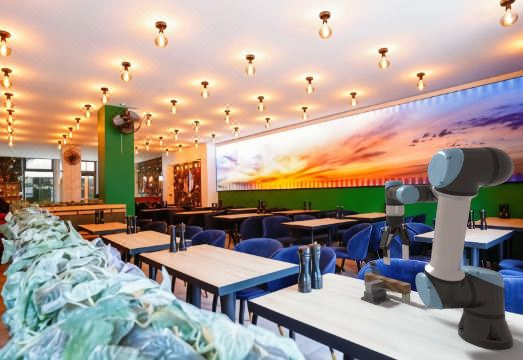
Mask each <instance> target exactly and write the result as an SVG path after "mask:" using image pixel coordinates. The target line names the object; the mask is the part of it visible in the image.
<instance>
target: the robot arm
mask: <svg viewBox="0 0 523 360" xmlns="http://www.w3.org/2000/svg"><path fill="white" fill-rule="evenodd" d="M514 170H515V165H514V161H513V158H512V157H511V155H510V154H509V153H507V152H506V151H504V150H503V149H500V148H497V147H493V146H484V147H483V146H481V147H479V146H478V147H475V146H472V147H471V146H470V147H455V146H454V147H449V148H442V149H439V150H438V151H436V152H435V153H434V154H433V155H432V157H431V158H430V161H429V163H428V166H427V176H428V182H429V183H430V184H404V181H403V180H386V181H385V186H384V191H385V213H386V218H385V219H386V220H385V222H386V223H387V224H388V226H383V232H382V236H381V239H380V243H379V249H381V250H382V257H383V264H385V265H387V266H390V265H391V250H390V249H389V248H390V247H391V244H392V242H393V240H394V238H396V237H397V236H398V237H399V239H400V241H401V242H402V245H401V246H402V247H401V248H402V249H401V250H402V251H401V253H402V260H406V261H409V260H410V250H409V249H410V248H409V247H410V246H412V243H413V241H412V239H411V236H410V233H409V230H408V225H407V224H406V223H405V216H404V214H405V205H407V204H408V205H409V204H410V205H412V204H417V203H418V204H419V203H437V207H436V216H435V222H434V223H435V225H434V232H433V240H432V248H431V257H430V261H428V262H426V264H424V271H423V272H422V271H421V272H418V273H417V274H416V276H415V286H416V287H415V288H416V291H417V293H418V294H417V295H418V297H419V299H420V300H421V302H422V303H423V304H424V306H425V307H427V309H428V308H429V309H430V310H440V311H442V310H453V309H454V310H457V309H458V310H459V309H460V310H461V309H462V314H461V316H460V319H459V321H458V325H457V333H458V334H457V335H458V336H459V337H460V338H461V339H463V340H464V341H466V342H467V343H469V344H472V345H474V346H478V347H482V348H486V349H491V350H506V349H510V348H512V347H513V346H514V336H513V334H512V332H511V329H510V327H509V324H508V322H507V320H506V306H505V305H506V304H505V299H506V298H505V288H506V286H505V282H504V277H503V275H502V274H501V273H499V272H498V271H495V270H492V269H489V268H485V267H480V266H473V265H462V260H463V255H464V249H465V248H464V246H465V241H466V235H467V228H468V227H467V226H468V221H469V216H470V215H469V214H470V209H471V202H472V199H473V198H475V197H477V196H479V195H478V194H479V190H480V188H481V187H482V188H491V187H495V186H498V185H500V184H503V183H505V182H507V181H508V180H510V178H511V177H512V175H513V173H514Z"/></svg>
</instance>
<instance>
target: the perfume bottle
mask: <svg viewBox="0 0 523 360" xmlns="http://www.w3.org/2000/svg"><path fill="white" fill-rule="evenodd" d="M367 273H372V274H376V275H380V276H383V274H382V272H381V271H380V269H378V268H377V262H376V261H369V265H368V268H366V270H365V271H364V273H363V275H364V274H367Z"/></svg>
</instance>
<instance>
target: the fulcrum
mask: <svg viewBox="0 0 523 360" xmlns="http://www.w3.org/2000/svg"><path fill="white" fill-rule="evenodd" d="M365 286H366V290H363V296H361V297H360V300H362V301H364V302H366V303H369V304H372V305H374V306H376V305H379V304H382V303H385V302H388V301H391V297H389V296H387V289H385V288H384V281H383V280H379V279H378V280H374V281H371V282H367V283H365V282H364V287H365Z"/></svg>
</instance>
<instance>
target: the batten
mask: <svg viewBox="0 0 523 360" xmlns="http://www.w3.org/2000/svg"><path fill="white" fill-rule="evenodd" d="M363 277H364V281H363V282H364V284H365V283H367V282H371V281H374V280H378V279H379V280H383V281H384V290H389V291H392V292H393V293H398V294H401V295H402V294H404V295H406V294H409V293H410V294H412V291H411V290H412V289H411V287H412V285H411V283H409V282H405V281H402V280H399V279H394V278H390V277H387V276H384V275H382V276H380V275H376V274H372V273H367V274H364V273H363Z"/></svg>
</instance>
